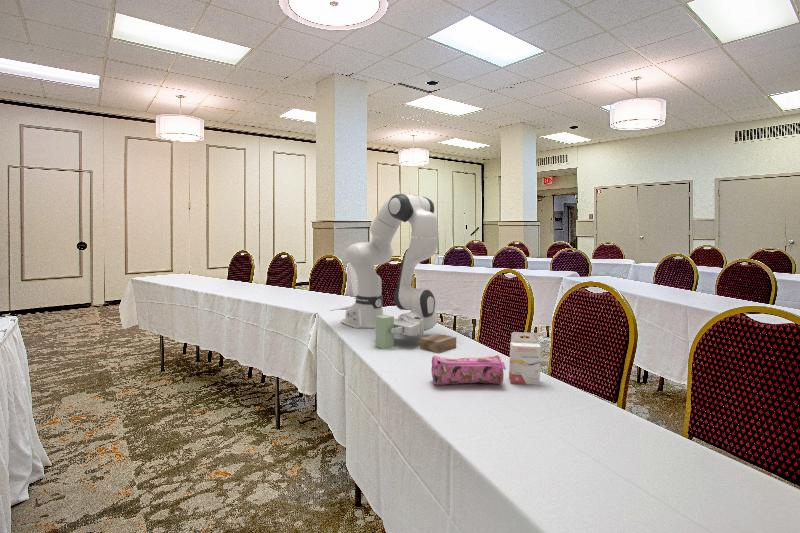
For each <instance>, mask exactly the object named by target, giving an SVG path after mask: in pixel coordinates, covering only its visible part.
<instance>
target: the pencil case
mask: <svg viewBox="0 0 800 533" xmlns="http://www.w3.org/2000/svg"><path fill="white" fill-rule="evenodd" d="M506 368H507V367H506V365H505V362H504V361H502V358H501V356H500V355H498V354H496V355H493V356H485V357H459V358H447V357H441V356H438V355H433V356H432V357H431V368H430V369H431V377H432V382H433V384H434V385H435V384H436V385H435V386H439V385H440V386H445V385H456V384H473V383H474V384H475V383H478V384H479V383H480V384H481V383H482V384H494V385H500V384H502V383H503V382H504V377H505V376H504V370H506Z"/></svg>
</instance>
